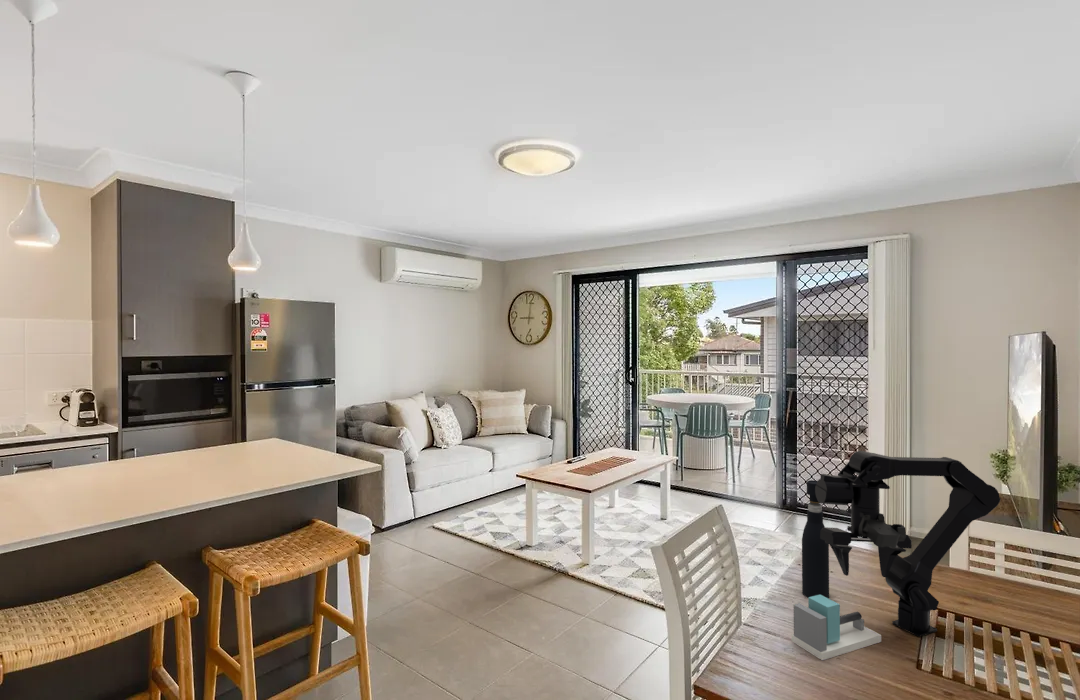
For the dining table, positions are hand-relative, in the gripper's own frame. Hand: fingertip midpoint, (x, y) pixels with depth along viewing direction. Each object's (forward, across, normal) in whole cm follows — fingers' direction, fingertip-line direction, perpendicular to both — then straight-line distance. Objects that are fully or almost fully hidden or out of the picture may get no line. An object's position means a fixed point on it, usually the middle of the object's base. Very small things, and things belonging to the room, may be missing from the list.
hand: (865, 576), depth 125 cm
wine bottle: (+11, 0, +20) cm, 23 cm away
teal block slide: (+14, -8, -2) cm, 16 cm away
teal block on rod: (+12, -12, -3) cm, 17 cm away
